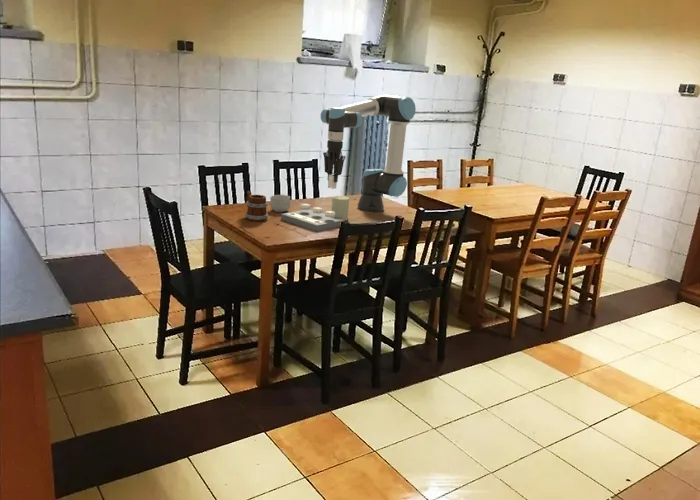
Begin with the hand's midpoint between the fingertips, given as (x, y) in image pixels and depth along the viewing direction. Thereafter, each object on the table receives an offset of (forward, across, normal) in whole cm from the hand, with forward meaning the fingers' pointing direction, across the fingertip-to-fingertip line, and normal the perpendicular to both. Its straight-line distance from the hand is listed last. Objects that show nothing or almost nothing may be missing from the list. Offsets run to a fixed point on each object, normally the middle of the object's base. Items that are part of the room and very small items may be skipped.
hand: (332, 187), depth 295 cm
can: (+20, -7, +15) cm, 26 cm away
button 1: (+14, -18, 0) cm, 23 cm away
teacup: (+20, -37, 0) cm, 42 cm away
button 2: (+14, 0, 0) cm, 14 cm away
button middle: (+14, -9, 0) cm, 17 cm away
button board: (+19, -9, -3) cm, 22 cm away
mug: (+20, -31, -23) cm, 43 cm away
